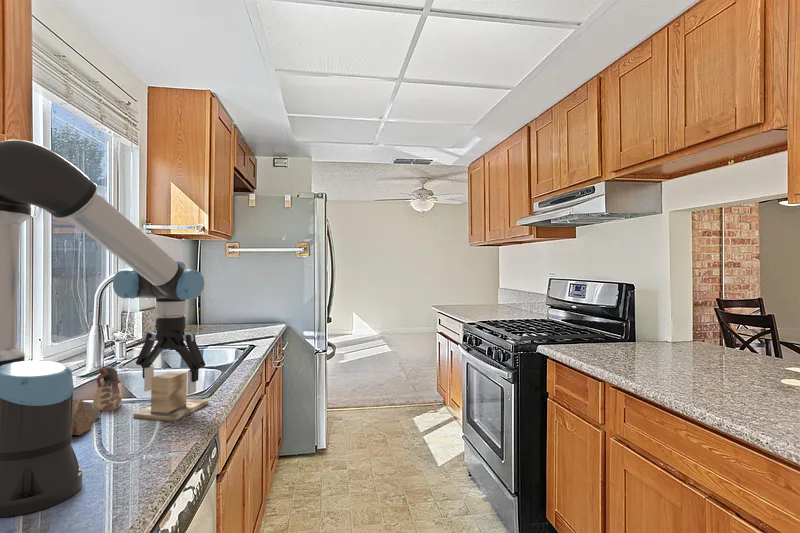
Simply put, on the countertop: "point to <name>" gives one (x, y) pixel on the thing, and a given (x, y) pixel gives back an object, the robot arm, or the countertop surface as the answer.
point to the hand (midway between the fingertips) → (170, 391)
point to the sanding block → (168, 393)
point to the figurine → (107, 390)
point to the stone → (83, 416)
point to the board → (190, 407)
